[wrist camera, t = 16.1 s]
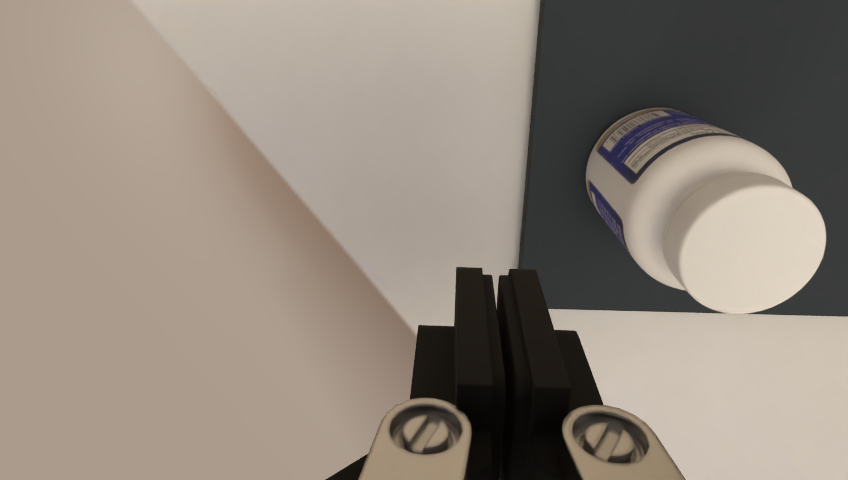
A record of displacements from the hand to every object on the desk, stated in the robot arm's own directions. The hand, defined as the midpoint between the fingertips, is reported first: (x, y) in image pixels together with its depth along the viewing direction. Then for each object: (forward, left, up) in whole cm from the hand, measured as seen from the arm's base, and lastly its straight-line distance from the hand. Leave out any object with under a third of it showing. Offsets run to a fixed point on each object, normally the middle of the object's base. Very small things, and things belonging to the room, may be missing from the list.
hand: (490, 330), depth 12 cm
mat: (+12, 0, -14) cm, 18 cm away
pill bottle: (+8, 0, -13) cm, 15 cm away
